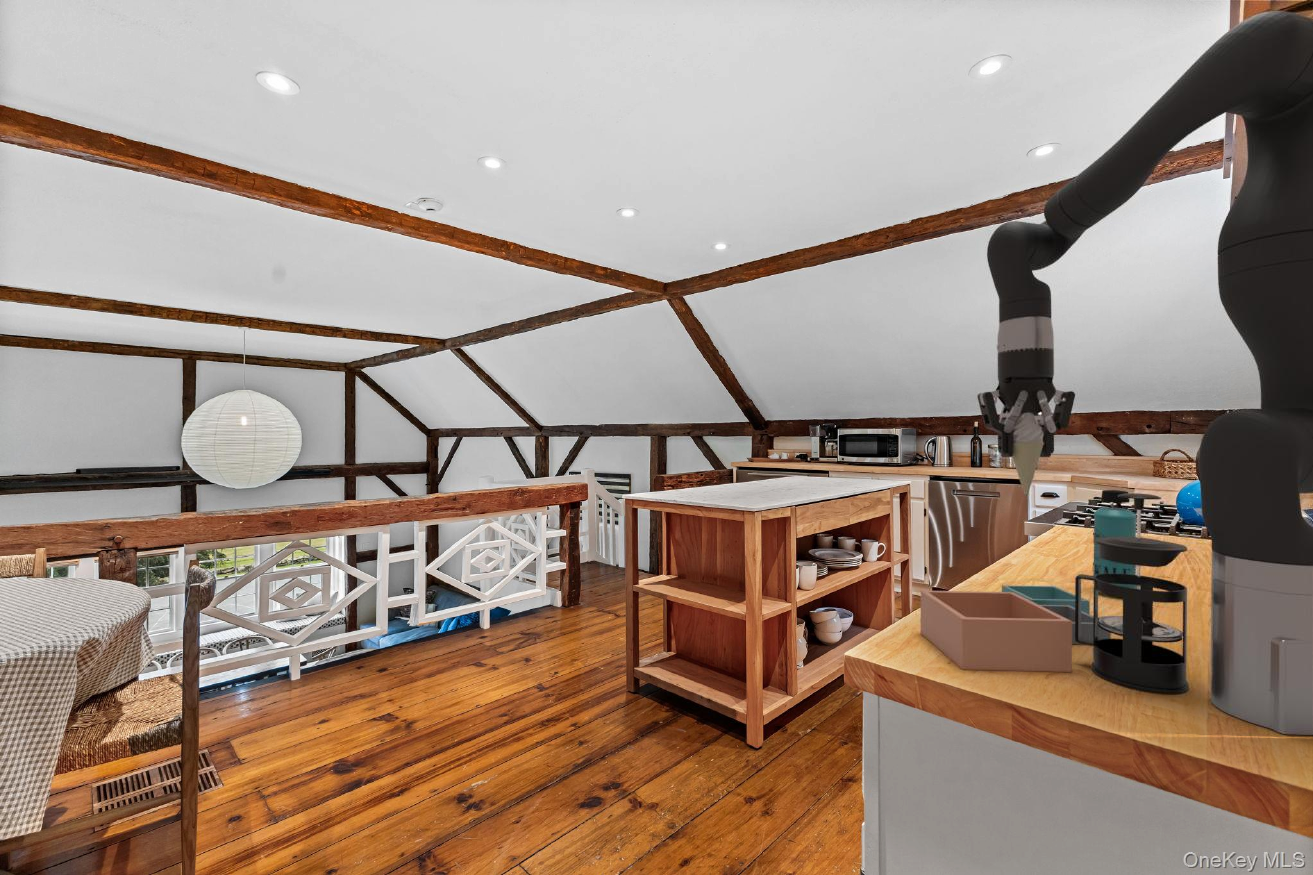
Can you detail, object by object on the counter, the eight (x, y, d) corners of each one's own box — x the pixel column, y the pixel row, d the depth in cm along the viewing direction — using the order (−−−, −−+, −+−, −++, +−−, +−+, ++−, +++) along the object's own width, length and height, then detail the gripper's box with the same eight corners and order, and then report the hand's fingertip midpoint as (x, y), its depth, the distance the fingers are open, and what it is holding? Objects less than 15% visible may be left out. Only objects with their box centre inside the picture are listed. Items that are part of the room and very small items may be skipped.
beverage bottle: (1120, 592, 111) (1121, 488, 111) (1146, 602, 104) (1146, 492, 104) (1084, 591, 112) (1084, 488, 112) (1107, 601, 105) (1108, 491, 105)
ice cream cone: (1003, 494, 92) (1002, 399, 92) (1012, 492, 95) (1011, 400, 95) (1040, 496, 88) (1039, 397, 88) (1049, 494, 91) (1047, 399, 92)
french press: (1200, 680, 72) (1201, 494, 72) (1192, 704, 65) (1193, 500, 65) (1084, 653, 80) (1085, 487, 80) (1067, 672, 74) (1068, 492, 74)
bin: (1071, 671, 74) (1071, 621, 74) (962, 669, 75) (962, 619, 75) (1012, 635, 88) (1013, 592, 88) (920, 633, 88) (920, 590, 88)
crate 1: (1089, 619, 95) (1089, 600, 95) (1031, 617, 96) (1031, 599, 96) (1054, 602, 104) (1054, 586, 104) (1001, 601, 105) (1001, 585, 105)
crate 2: (1110, 644, 84) (1110, 624, 84) (1044, 643, 84) (1044, 622, 84) (1069, 624, 93) (1069, 605, 93) (1009, 622, 93) (1009, 604, 93)
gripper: (989, 346, 89) (990, 457, 88) (1088, 345, 87) (1089, 457, 87) (967, 354, 96) (967, 456, 96) (1058, 352, 95) (1059, 456, 95)
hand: (1025, 456), depth 92 cm, fingers closed on ice cream cone, 5 cm apart
